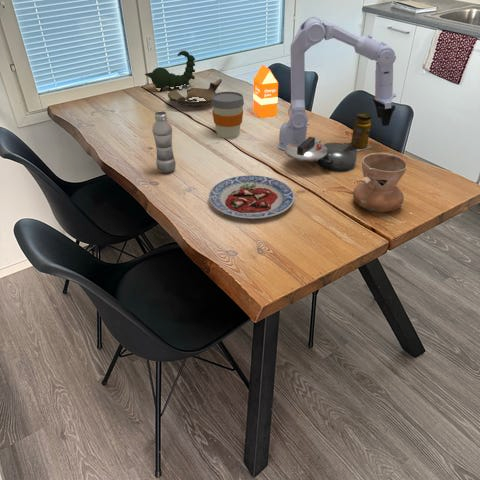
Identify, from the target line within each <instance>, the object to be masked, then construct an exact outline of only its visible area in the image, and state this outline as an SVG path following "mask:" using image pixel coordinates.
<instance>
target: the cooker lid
mask: <svg viewBox="0 0 480 480" xmlns="http://www.w3.org/2000/svg"><path fill="white" fill-rule="evenodd" d="M285 154H286V156H287V157H289V158H291V159H293V160H296V161H300V162H301V161H302V162H318V160H321V159H323V158H325V157H326V156H327V148H326V147H325V146H324V145H323V144H322V143H321V139H316V137H314V136H309V137H308V138H307V137H306V140H305V141H296V142H292V143H290V144H288V145H287V146H286V150H285Z"/></svg>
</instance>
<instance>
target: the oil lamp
mask: <svg viewBox="0 0 480 480" xmlns="http://www.w3.org/2000/svg"><path fill="white" fill-rule="evenodd" d="M222 81H223V80H222V79H221V78H219V79H217V80H216V81H215V82H210V83H209V88H200V87H190V89H186V94H187V95H186V96H187V98H186V97H184V96H183V95H182V94H180V93H179V92H178V90H177V89H174V90H171V91H169V92H168V94H167V96H168V99H169V101H170V102H173V103H177V104H179V105H183V106H187V107H202V106H206V105H209V104H211V101H212V95H213V94H215V93H217V92H216V91H217V89H218V87H219V86H220V85H221V83H222ZM192 97H199V98H204V99H205V100H206V101H199V102H196V101H189V100H188V101H189V102H188V101H185V100H186V99H188V98H192Z"/></svg>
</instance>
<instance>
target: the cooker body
mask: <svg viewBox="0 0 480 480" xmlns="http://www.w3.org/2000/svg"><path fill="white" fill-rule="evenodd" d="M349 143H350V142H327V143H324V144H323V145H324V146H325V147H326V148H327V156H326V157H325V158H323V159H321V160H317V161H316V162H317V165H318V166H319V167H320V168H321V169H323V170H325V171H329V172H334V173H335V172H336V173H345V172H349V171H352V170H353V169H355V167H356V162H357V157H358V156H357V155H358V151H357V150H356V148H354V147H353V146H352V145H353V144H349Z"/></svg>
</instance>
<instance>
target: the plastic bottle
mask: <svg viewBox="0 0 480 480" xmlns="http://www.w3.org/2000/svg"><path fill="white" fill-rule="evenodd" d="M167 116H168V115H167V112H166V111H163V110H162V111H155V113H154V120H155V122H154V124H153V126H152V135H153V138H154V142H155V143H154V144H155V149H156V159H155V161H156V162H155V163H156V167H157V170H158V171H159V172H161V173H166V174H168V173H172V172H174V170H175V169H176V165H177V163H176V159H175V155H174V151H173V127H172V125H171V124H170V122H169V121H168V120H167V119H168V117H167Z"/></svg>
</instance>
